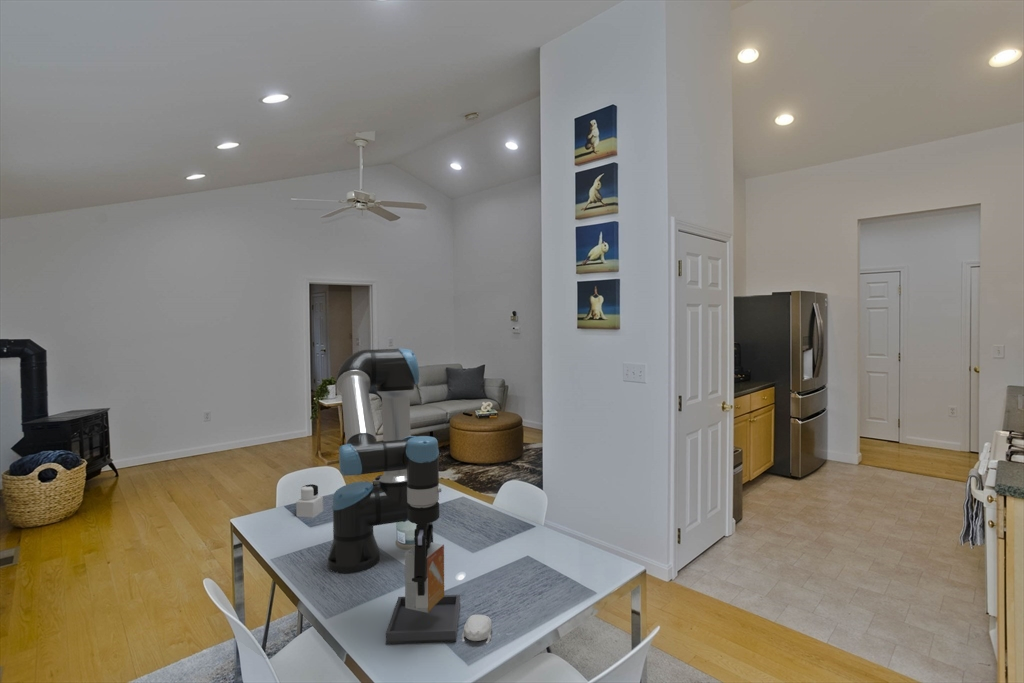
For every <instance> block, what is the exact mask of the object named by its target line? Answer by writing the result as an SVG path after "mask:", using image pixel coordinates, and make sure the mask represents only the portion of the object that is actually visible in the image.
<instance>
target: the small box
mask: <svg viewBox="0 0 1024 683" xmlns="http://www.w3.org/2000/svg"><path fill="white" fill-rule="evenodd" d="M426 545H427V544H426ZM414 557H415V545H413V547H411V549H409V550H408V551H407V552H405V553H404V588H405V589H404V594H405V595H404V597H405V608H408V609H412V610H417V611H421V612H426V613H428V612H429V611H430V610H431V609H432V608H433V607H434V606H435V605H436V604H437V603H438V602H439V601H440V600H441V599H442V598H443V597H444V595H445V544H444V543H439V542H434V541H433V542H431V543H430V548H429V549H428V555H427V557H426V559H427V578H428V608H416V588H415V582H414V581H412V578H414Z"/></svg>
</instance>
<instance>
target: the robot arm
mask: <svg viewBox="0 0 1024 683" xmlns="http://www.w3.org/2000/svg"><path fill="white" fill-rule="evenodd" d="M419 383H420V370H419V364H418V361H417V357H416V355H415V352H414V351H413V350H411V349H409V348H381V349H379V348H378V349H362V350H358V351H356V352H354V353H353V354H351V355H350V356H348V357H347V358H346V359H345V360H344V361H343V362H342V364H341V365H340V366H339V369H338V371H337V374H336V388H337V391H338V392H339V393H340V394H341V404H342V414H343V415H342V418H343V427H344V437H345V444H342V445H340V446H339V449H338V462H339V463H338V464H339V467H338V468H339V473H340V474H341V475H342V476H344V477H345V476H361V475H368V474H376V473H383V474H382V475H383V476H382V477H381V478H380V479H379V486H373V485H372V484H373V482H371V481H367V480H366V481H356V482H351V483H348V484H345V485H343V486H340V487H339V488H337V490H336V491H335V492H334V493H333V495H332V506H331V509H332V519H333V520H332V524H333V525H332V527H333V528H332V531H333V532H332V534H333V535H332V536H333V538H332V539H333V540H332V544H331V546H330V550H329V552H328V557H327V568H328V567H329V568H328V569H329V571H331V570H332V571H331V572H333V571H334V572H333V573H336V572H338V573H337V574H344V575H345V574H355V573H360V572H364V571H367V570H369V569H372V568H373V567H374V566H376V565H377V564H378V563H379V562H380V559H381V558H380V556H381V555H380V554H381V553H380V548H379V546H378V542H377V540H376V538H375V537H376V536H375V534H374V526H375V527H376V526H381V525H382V526H384V525H388V524H396V523H401V522H403V523H405V522H410V523H412V524H416V525H415V529H414V538H413V539H414V546H415V557H414V578H412V581H414V582H415V588H416V608H428V578H427V559H426V557H427V555H428V549H429V548H430V543H431V542H433V543H434V524H433V523H434V522H436V521H438V519H439V518H440V502H439V500H440V494H439V493H442V487H441V488H440V487H439V486H440V485H439V484H440V482H439V481H440V480H439V478H440V477H439V475H440V472H439V470H440V469H439V468H440V467H439V463H440V462H439V459H440V458H439V456H440V455H439V454H440V450H439V441H438V440H437V438H436V437H434V436H429V435H419V436H415V435H412V434H411V433H412V432H411V402H410V396H411V394H412V393H413V392H414V391H415V386H417V385H418V384H419ZM371 387H372V388H373V387H376V393H377V394H378V395H379V396H380V397H381V406H382V407H381V408H382V441H377V436H376V428H375V424H374V418H373V410H372V404H371V398H370V392H369V389H370V388H371ZM426 544H427V545H426Z"/></svg>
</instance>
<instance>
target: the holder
mask: <svg viewBox="0 0 1024 683" xmlns="http://www.w3.org/2000/svg"><path fill="white" fill-rule="evenodd" d="M460 608H461V595H460V594H444V597H443V598H442V599H441V600H440V601H439V602H438V603H437V604H436V605H435V606H434V607H433V608H432V609H431V610H430V611H429V612H428V613H426V612H421V611H417V610H412V609H408V608H405V596H398V598H397V600H396V603H395V606H394V608H393V611H392V613H391V614H392V615H391V617H390V620H389V623H388V625H387V628H386V631H385V645H407V644H408V645H409V644H436V643H439V644H440V643H456V642H457V634H458V624H459V619H460V618H459V616H460Z"/></svg>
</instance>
